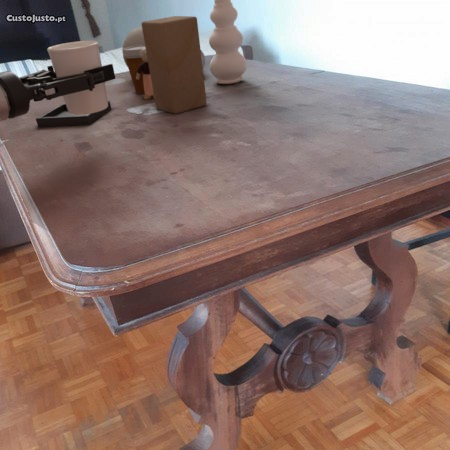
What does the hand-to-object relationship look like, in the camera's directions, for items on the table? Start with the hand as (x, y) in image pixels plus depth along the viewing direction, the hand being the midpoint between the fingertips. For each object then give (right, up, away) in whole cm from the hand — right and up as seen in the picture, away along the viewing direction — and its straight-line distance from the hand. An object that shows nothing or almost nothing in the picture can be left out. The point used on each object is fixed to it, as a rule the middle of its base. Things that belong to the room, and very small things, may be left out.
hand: (97, 70), depth 98 cm
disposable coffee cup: (+2, +16, +46) cm, 49 cm away
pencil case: (+14, +30, +64) cm, 72 cm away
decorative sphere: (+1, +28, +64) cm, 70 cm away
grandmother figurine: (+6, +11, +39) cm, 41 cm away
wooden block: (+15, +3, +26) cm, 30 cm away
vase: (+28, +18, +45) cm, 56 cm away
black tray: (-13, +1, +28) cm, 31 cm away
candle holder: (-2, -8, +1) cm, 8 cm away
